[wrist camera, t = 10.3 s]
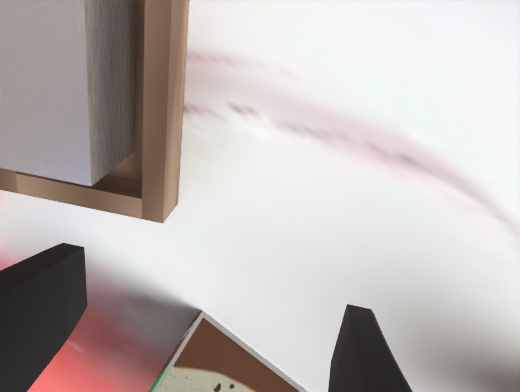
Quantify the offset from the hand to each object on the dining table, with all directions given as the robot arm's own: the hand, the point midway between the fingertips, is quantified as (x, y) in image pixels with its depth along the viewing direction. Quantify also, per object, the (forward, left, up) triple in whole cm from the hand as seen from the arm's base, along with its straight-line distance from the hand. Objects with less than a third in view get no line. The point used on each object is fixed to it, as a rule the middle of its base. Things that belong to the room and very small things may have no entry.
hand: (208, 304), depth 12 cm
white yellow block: (-8, +4, -9) cm, 13 cm away
